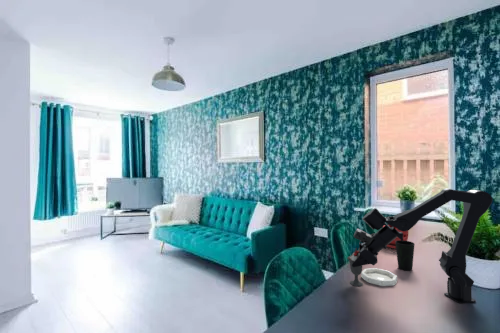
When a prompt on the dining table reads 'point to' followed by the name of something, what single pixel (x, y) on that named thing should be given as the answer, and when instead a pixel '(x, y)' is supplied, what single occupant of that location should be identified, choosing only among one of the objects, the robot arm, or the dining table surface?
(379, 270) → the dish
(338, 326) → the dining table surface
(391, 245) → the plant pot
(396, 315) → the dining table surface
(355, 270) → the sundae
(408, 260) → the cup
